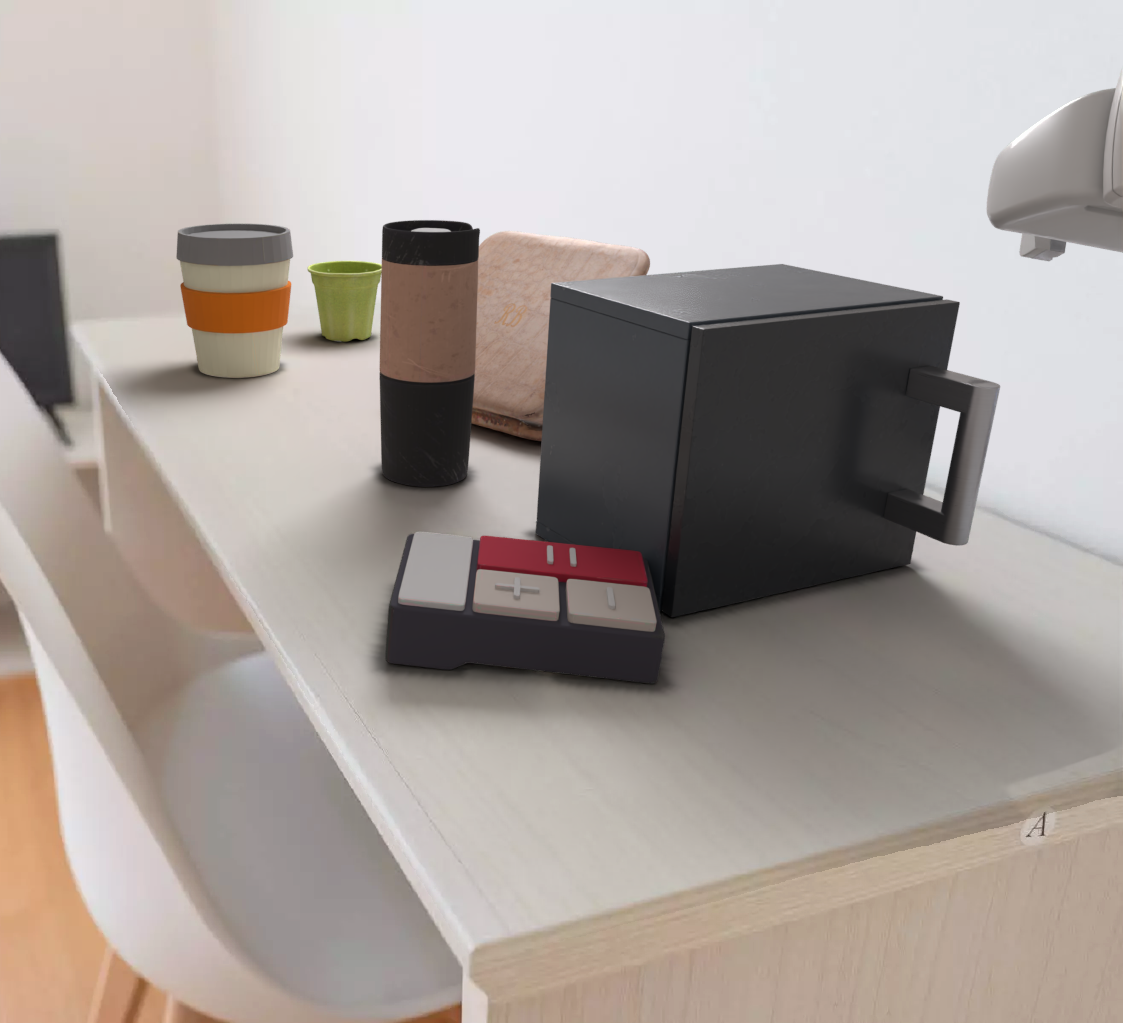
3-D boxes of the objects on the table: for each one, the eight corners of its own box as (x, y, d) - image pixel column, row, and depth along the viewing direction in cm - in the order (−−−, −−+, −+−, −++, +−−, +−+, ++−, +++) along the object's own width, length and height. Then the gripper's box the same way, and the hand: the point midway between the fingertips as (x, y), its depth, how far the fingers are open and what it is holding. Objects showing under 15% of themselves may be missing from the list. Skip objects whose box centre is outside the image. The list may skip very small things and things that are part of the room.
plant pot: (368, 347, 138) (368, 274, 135) (296, 341, 141) (295, 270, 138) (394, 332, 146) (395, 263, 143) (325, 326, 149) (325, 258, 146)
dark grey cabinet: (895, 559, 79) (943, 295, 72) (658, 611, 71) (689, 322, 65) (751, 494, 91) (782, 263, 84) (535, 533, 83) (550, 282, 77)
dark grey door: (980, 595, 73) (1040, 317, 67) (733, 656, 66) (774, 349, 59) (898, 558, 79) (946, 299, 72) (661, 611, 71) (691, 325, 65)
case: (381, 404, 115) (383, 240, 109) (522, 370, 128) (531, 222, 122) (539, 453, 101) (550, 267, 95) (680, 409, 113) (698, 243, 108)
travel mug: (360, 476, 95) (361, 226, 87) (410, 452, 101) (415, 217, 93) (440, 494, 91) (448, 234, 83) (487, 469, 96) (498, 224, 89)
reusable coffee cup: (215, 350, 136) (209, 220, 131) (313, 360, 132) (311, 226, 127) (161, 375, 125) (152, 234, 120) (265, 386, 121) (261, 241, 116)
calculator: (668, 625, 61) (388, 594, 63) (656, 695, 63) (383, 663, 65) (649, 545, 71) (408, 520, 73) (639, 608, 73) (404, 582, 75)
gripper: (1598, 131, 48) (1325, 242, 62) (1104, 40, 49) (943, 171, 62) (1584, 276, 47) (1311, 356, 61) (1084, 182, 48) (925, 282, 62)
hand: (1122, 262), depth 62 cm, fingers open, 8 cm apart
